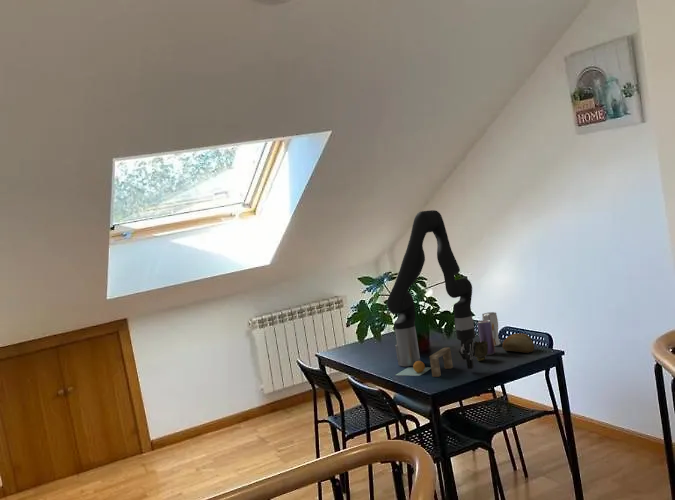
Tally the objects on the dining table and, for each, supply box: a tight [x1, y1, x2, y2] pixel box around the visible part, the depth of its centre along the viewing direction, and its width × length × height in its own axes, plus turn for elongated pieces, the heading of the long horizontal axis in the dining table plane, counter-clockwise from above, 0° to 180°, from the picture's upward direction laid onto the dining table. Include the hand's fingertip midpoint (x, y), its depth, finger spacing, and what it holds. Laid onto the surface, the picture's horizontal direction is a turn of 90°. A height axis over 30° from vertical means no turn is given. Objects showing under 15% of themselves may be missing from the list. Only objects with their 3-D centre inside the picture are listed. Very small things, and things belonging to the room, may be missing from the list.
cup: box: [473, 340, 488, 362], centre depth 317 cm, size 8×7×8 cm
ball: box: [412, 360, 426, 373], centre depth 313 cm, size 5×5×5 cm
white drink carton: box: [481, 311, 501, 347], centre depth 342 cm, size 7×7×15 cm
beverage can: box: [477, 319, 496, 356], centre depth 327 cm, size 6×6×15 cm
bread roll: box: [502, 332, 535, 354], centre depth 323 cm, size 10×15×8 cm, turn 46°
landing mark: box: [394, 366, 431, 377], centre depth 316 cm, size 12×12×1 cm
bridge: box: [428, 347, 454, 378], centre depth 308 cm, size 3×14×9 cm, turn 146°
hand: (470, 368), depth 301 cm, fingers closed
